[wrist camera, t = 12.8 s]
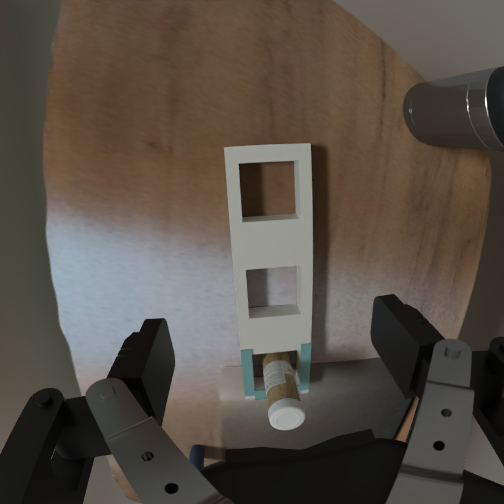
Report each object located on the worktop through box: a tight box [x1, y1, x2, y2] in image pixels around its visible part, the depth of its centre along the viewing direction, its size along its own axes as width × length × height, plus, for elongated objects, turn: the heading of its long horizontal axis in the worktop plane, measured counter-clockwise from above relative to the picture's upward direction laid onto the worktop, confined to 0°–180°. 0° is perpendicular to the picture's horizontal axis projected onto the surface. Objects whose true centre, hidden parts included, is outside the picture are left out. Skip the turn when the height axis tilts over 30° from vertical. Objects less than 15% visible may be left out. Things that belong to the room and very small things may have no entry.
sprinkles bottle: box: [261, 351, 305, 430], centre depth 42 cm, size 5×5×13 cm
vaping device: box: [189, 445, 204, 471], centre depth 50 cm, size 3×5×12 cm, turn 163°
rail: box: [224, 144, 313, 400], centre depth 43 cm, size 10×37×3 cm, turn 3°
